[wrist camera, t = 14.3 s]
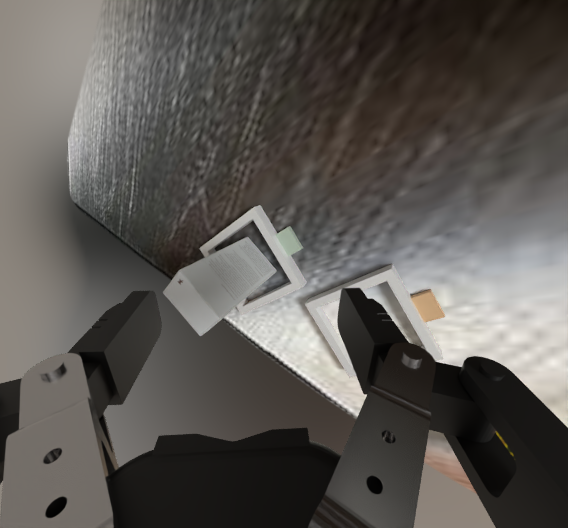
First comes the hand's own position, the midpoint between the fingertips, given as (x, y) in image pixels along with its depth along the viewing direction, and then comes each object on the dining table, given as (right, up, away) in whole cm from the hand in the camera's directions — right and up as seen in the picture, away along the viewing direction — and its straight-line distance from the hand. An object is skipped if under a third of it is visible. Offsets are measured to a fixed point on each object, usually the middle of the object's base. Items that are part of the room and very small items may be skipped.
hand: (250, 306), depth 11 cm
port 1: (-3, +2, +23) cm, 24 cm away
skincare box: (-2, +2, +24) cm, 24 cm away
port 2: (+12, -5, +19) cm, 23 cm away
